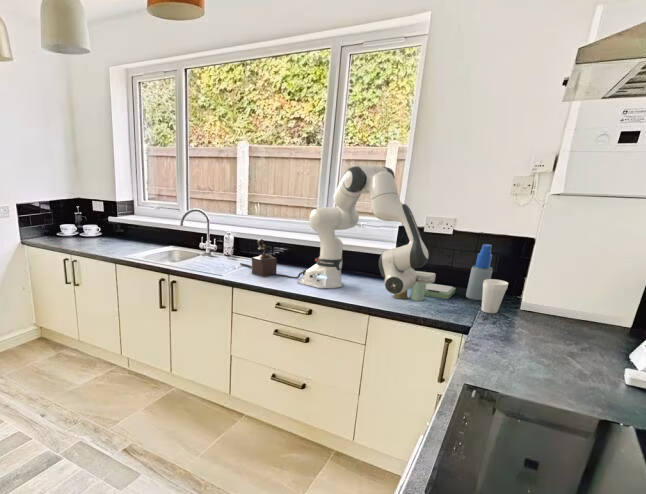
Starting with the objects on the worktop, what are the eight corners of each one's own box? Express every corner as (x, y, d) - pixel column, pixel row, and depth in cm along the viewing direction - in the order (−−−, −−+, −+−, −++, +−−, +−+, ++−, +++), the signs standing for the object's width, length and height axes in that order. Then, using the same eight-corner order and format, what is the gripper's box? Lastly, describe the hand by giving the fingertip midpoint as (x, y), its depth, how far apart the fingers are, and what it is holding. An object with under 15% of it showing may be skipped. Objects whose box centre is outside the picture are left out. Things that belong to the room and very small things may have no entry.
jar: (408, 299, 216) (412, 276, 211) (412, 296, 220) (416, 274, 216) (421, 301, 212) (425, 278, 208) (425, 298, 217) (429, 275, 212)
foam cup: (499, 308, 203) (506, 280, 198) (503, 315, 195) (510, 285, 190) (476, 306, 206) (482, 278, 200) (478, 312, 198) (485, 283, 192)
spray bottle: (469, 293, 225) (480, 242, 215) (488, 297, 219) (500, 244, 209) (463, 297, 219) (473, 244, 209) (482, 301, 213) (494, 247, 203)
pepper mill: (277, 274, 259) (279, 242, 252) (262, 277, 253) (263, 244, 246) (260, 269, 270) (261, 238, 263) (245, 271, 264) (246, 240, 257)
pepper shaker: (405, 295, 221) (409, 273, 217) (408, 299, 215) (412, 276, 211) (392, 294, 221) (396, 272, 217) (395, 298, 216) (398, 275, 212)
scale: (417, 294, 223) (418, 288, 222) (425, 288, 234) (426, 282, 232) (447, 299, 216) (448, 293, 214) (454, 292, 226) (456, 286, 225)
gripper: (432, 273, 184) (440, 268, 195) (382, 268, 195) (392, 263, 206) (430, 289, 187) (438, 282, 197) (380, 282, 197) (390, 276, 208)
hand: (414, 272), depth 201 cm, fingers open, 8 cm apart
